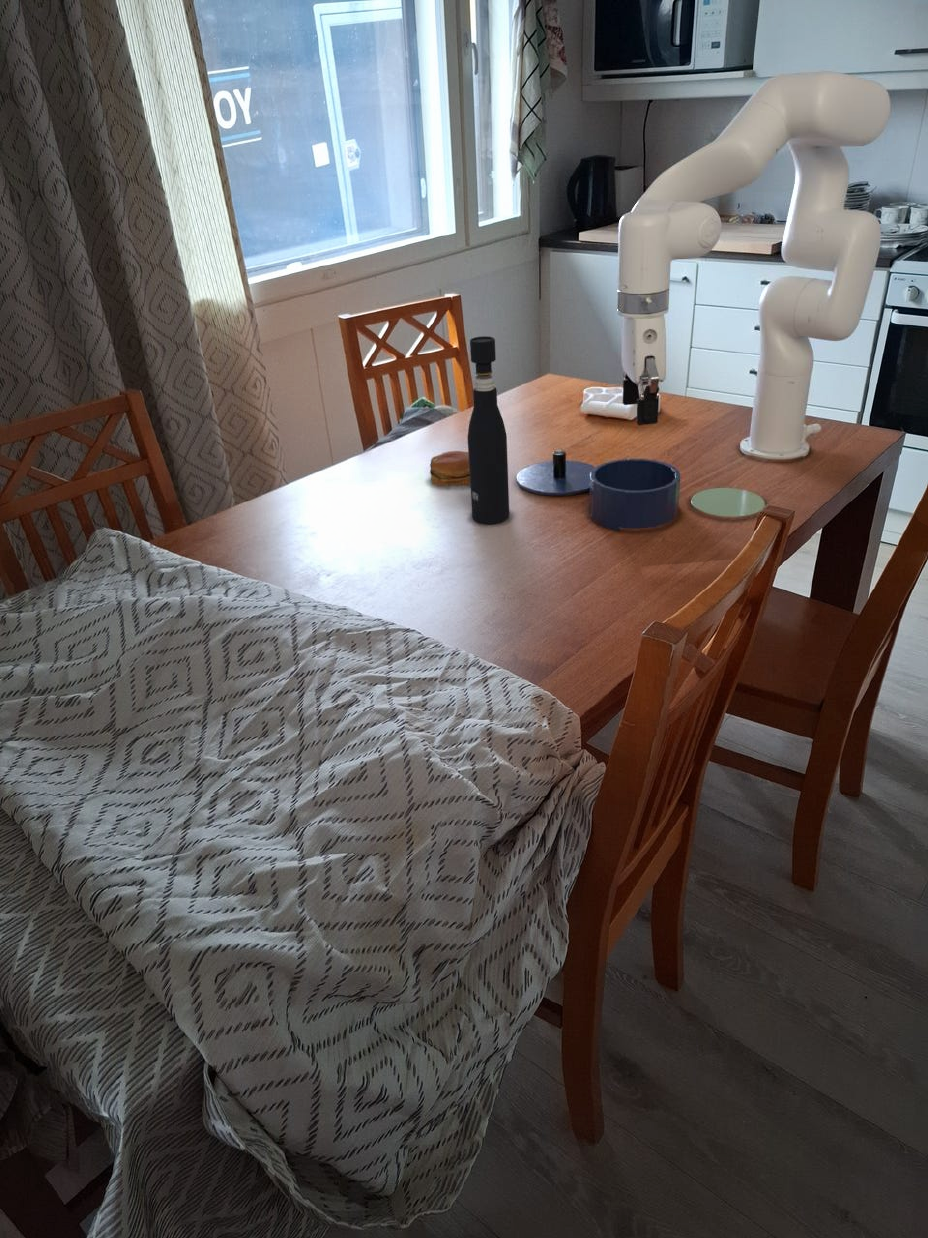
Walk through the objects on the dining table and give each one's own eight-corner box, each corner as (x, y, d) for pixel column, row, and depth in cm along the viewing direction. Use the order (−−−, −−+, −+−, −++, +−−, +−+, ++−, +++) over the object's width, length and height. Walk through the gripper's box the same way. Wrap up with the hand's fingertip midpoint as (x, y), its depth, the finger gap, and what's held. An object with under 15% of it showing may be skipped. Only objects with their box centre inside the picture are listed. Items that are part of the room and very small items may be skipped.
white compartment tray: (567, 414, 191) (595, 396, 202) (642, 425, 183) (668, 405, 193) (567, 400, 190) (595, 382, 200) (643, 409, 181) (669, 390, 191)
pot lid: (573, 459, 168) (573, 432, 165) (619, 485, 156) (620, 456, 153) (502, 477, 163) (500, 448, 160) (543, 505, 150) (543, 475, 147)
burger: (487, 483, 160) (485, 459, 158) (439, 492, 158) (437, 468, 156) (469, 466, 169) (468, 443, 166) (424, 474, 166) (422, 451, 164)
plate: (731, 486, 152) (731, 482, 152) (780, 509, 143) (780, 505, 143) (676, 501, 148) (676, 497, 148) (722, 526, 139) (723, 522, 139)
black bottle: (514, 510, 149) (508, 334, 134) (503, 526, 144) (496, 344, 128) (479, 507, 151) (469, 333, 136) (467, 523, 146) (455, 343, 130)
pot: (643, 489, 154) (645, 452, 150) (695, 518, 142) (698, 479, 138) (573, 508, 149) (573, 470, 145) (621, 539, 137) (623, 499, 134)
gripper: (684, 312, 120) (677, 429, 129) (653, 287, 135) (649, 394, 144) (631, 317, 120) (628, 434, 129) (606, 292, 135) (605, 399, 144)
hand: (639, 413), depth 137 cm, fingers open, 9 cm apart
